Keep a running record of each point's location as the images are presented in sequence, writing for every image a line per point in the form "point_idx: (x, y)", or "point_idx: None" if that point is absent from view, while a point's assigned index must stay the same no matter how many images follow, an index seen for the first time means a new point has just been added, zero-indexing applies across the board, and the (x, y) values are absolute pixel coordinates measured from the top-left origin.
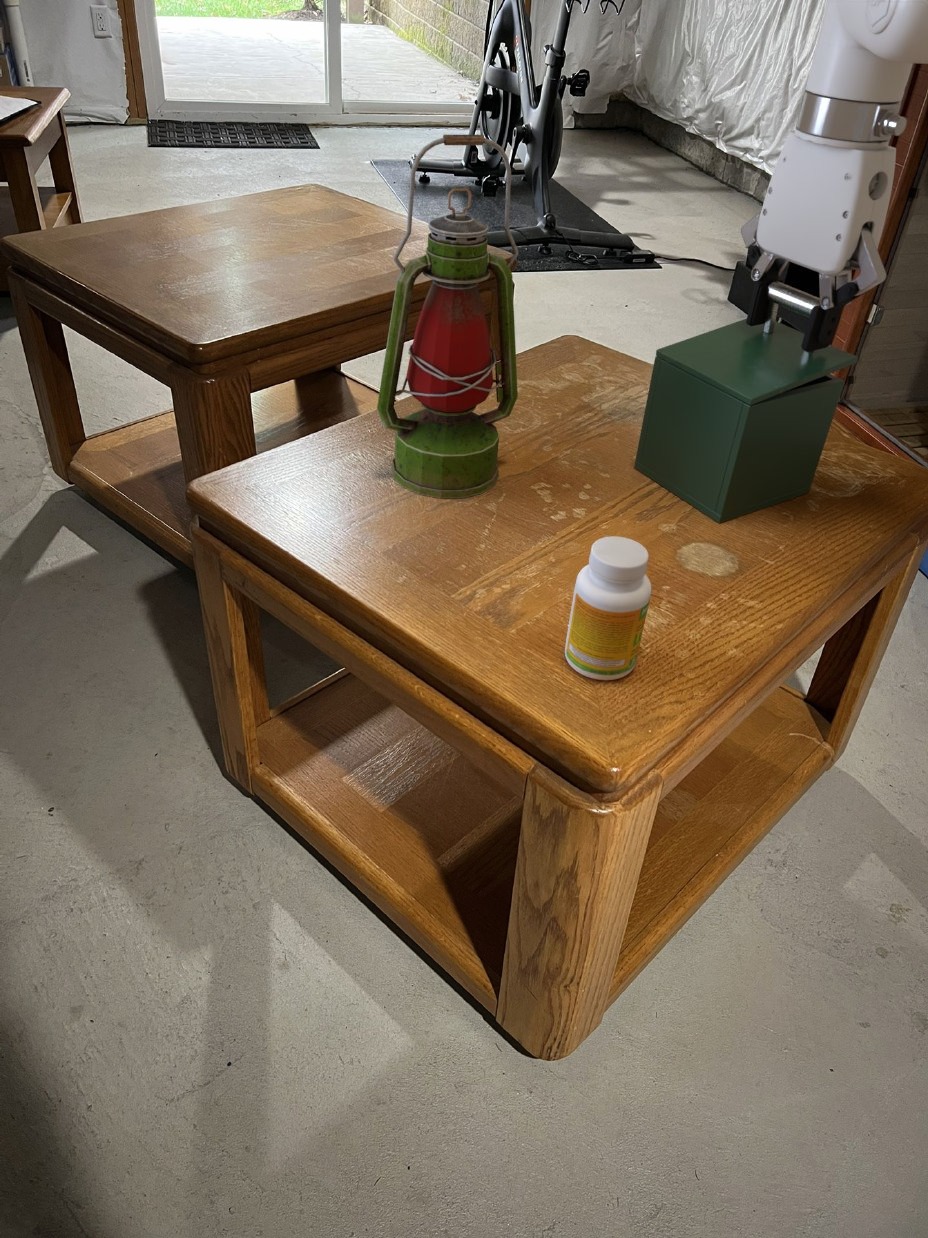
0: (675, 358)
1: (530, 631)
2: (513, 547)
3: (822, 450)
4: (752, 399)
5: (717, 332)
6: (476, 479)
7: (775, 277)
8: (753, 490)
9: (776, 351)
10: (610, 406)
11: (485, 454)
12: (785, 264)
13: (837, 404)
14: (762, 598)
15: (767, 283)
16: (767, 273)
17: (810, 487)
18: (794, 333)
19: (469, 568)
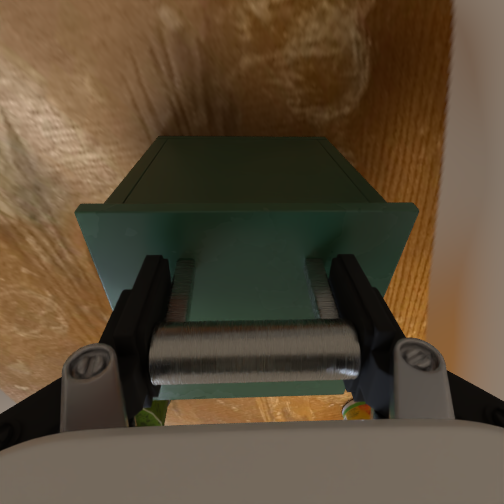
0: (187, 398)
1: (320, 419)
2: (245, 397)
3: (343, 156)
4: (343, 392)
5: None
6: (166, 400)
7: (137, 378)
8: None
9: (268, 305)
10: (6, 201)
11: (159, 415)
12: (123, 400)
13: (370, 185)
14: (398, 313)
15: (147, 385)
16: (129, 412)
17: (327, 139)
18: (228, 229)
19: (251, 419)
